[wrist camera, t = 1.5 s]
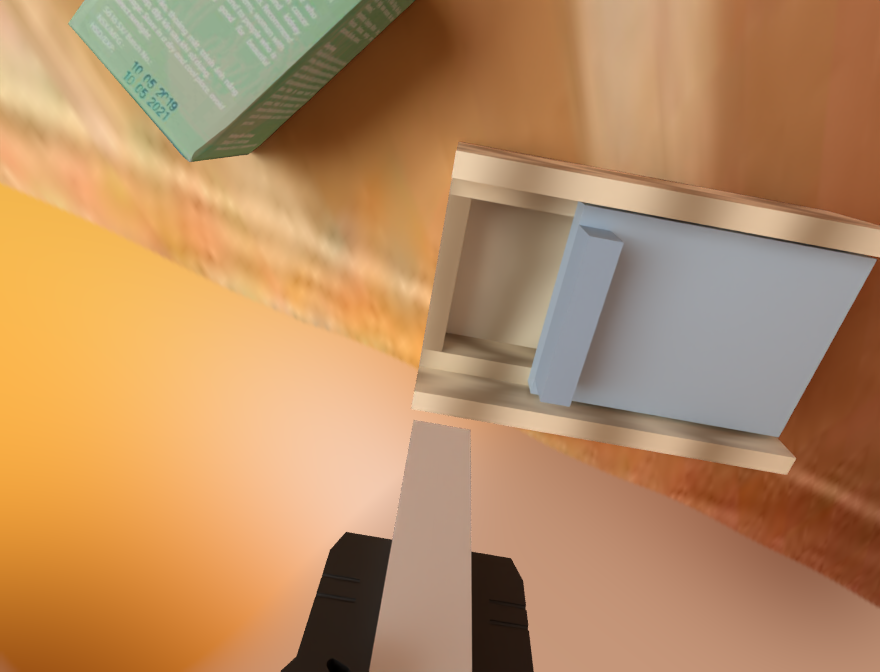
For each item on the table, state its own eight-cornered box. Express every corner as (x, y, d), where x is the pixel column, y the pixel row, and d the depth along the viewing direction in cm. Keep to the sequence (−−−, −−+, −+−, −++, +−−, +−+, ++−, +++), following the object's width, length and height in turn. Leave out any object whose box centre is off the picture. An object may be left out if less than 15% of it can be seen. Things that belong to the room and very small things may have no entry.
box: (430, -9, 26) (414, -52, 19) (253, 156, 30) (188, 169, 23) (336, -153, 24) (281, -258, 17) (159, 46, 28) (58, 24, 21)
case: (421, 354, 35) (411, 408, 28) (458, 141, 29) (456, 150, 23) (729, 408, 35) (786, 474, 29) (826, 210, 30) (924, 238, 23)
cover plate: (527, 380, 31) (535, 417, 27) (578, 200, 26) (596, 214, 22) (765, 422, 31) (804, 464, 27) (856, 251, 26) (917, 274, 23)
